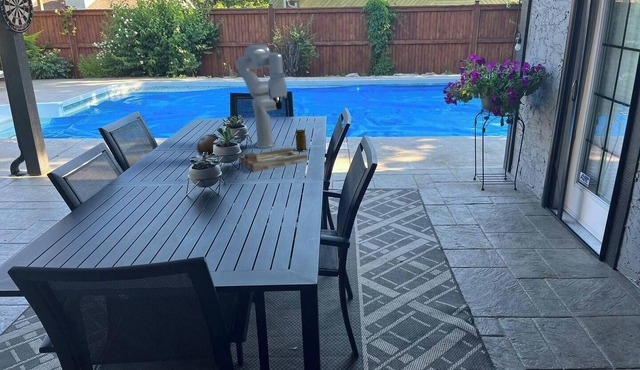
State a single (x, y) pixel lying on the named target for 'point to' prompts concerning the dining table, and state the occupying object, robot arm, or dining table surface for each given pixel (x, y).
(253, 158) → the walnut block
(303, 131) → the condiment
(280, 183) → the dining table surface
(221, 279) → the dining table surface
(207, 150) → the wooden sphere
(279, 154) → the trap track
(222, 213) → the dining table surface
